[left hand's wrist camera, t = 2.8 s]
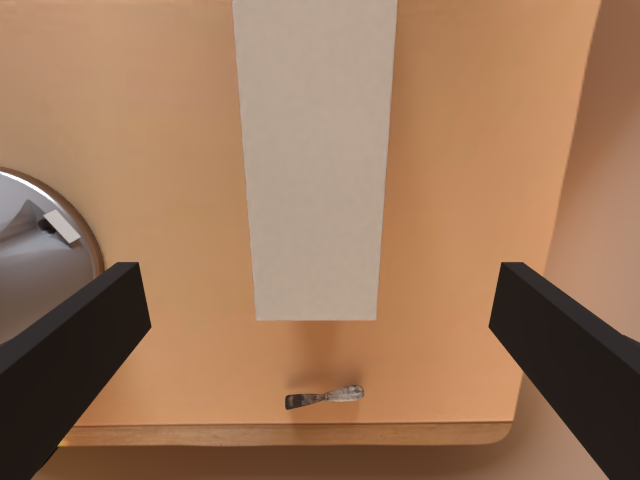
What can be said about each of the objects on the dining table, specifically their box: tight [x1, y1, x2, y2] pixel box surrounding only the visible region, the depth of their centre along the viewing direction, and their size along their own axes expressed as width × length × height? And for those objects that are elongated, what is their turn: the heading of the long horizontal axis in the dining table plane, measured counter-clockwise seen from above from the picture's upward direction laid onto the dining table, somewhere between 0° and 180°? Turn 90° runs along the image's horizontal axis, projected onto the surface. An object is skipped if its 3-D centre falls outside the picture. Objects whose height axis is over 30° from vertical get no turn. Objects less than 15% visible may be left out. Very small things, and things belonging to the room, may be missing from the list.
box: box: [232, 0, 398, 321], centre depth 19 cm, size 27×6×12 cm, turn 0°
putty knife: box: [285, 385, 364, 410], centre depth 34 cm, size 1×8×2 cm, turn 100°
